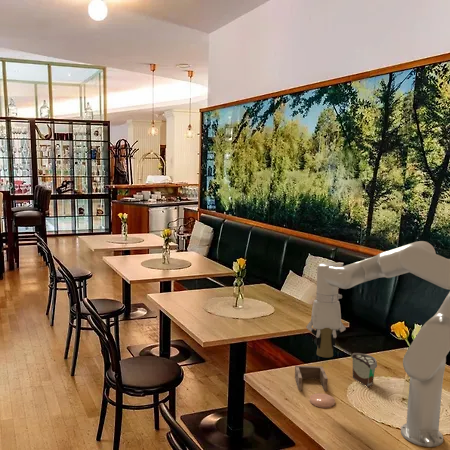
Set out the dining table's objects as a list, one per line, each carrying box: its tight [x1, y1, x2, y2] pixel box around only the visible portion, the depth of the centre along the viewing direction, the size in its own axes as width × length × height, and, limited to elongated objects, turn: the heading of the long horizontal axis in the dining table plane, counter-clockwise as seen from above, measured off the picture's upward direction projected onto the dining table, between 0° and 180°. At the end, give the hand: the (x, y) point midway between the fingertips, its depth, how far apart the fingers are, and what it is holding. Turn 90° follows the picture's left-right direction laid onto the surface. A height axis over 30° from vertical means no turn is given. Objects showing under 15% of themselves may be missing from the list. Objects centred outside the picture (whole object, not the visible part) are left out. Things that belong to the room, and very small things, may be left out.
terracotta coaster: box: [309, 392, 336, 409], centre depth 174 cm, size 9×9×1 cm
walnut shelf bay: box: [294, 365, 329, 392], centre depth 188 cm, size 11×11×5 cm
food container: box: [351, 352, 378, 388], centre depth 191 cm, size 12×6×10 cm, turn 22°
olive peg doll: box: [316, 328, 334, 359], centre depth 172 cm, size 6×6×11 cm
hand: (325, 346), depth 172 cm, fingers closed on olive peg doll, 4 cm apart
